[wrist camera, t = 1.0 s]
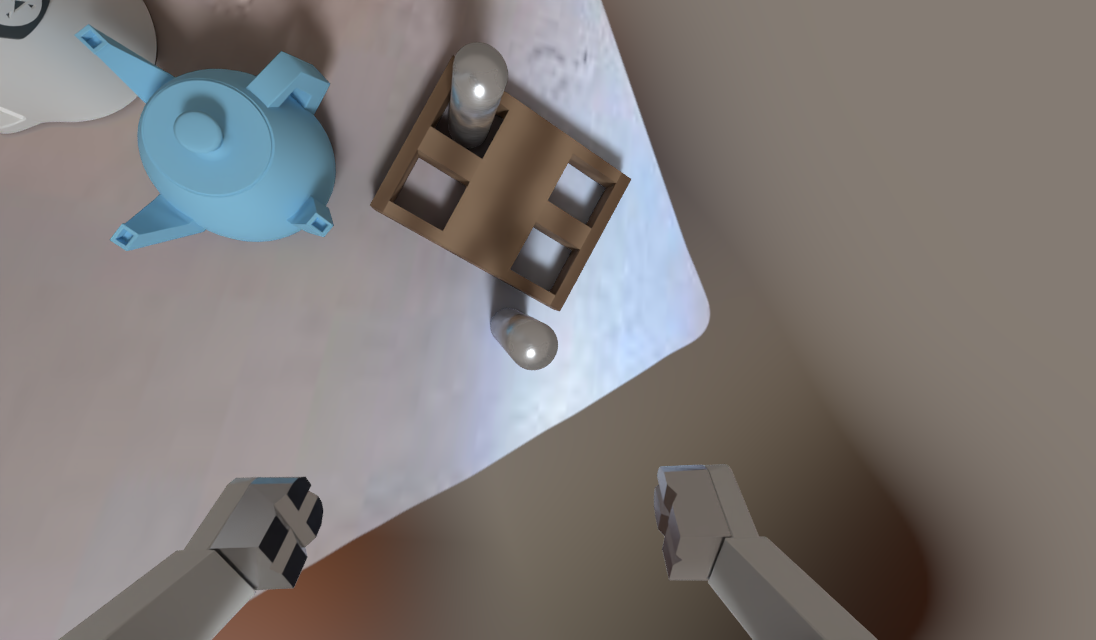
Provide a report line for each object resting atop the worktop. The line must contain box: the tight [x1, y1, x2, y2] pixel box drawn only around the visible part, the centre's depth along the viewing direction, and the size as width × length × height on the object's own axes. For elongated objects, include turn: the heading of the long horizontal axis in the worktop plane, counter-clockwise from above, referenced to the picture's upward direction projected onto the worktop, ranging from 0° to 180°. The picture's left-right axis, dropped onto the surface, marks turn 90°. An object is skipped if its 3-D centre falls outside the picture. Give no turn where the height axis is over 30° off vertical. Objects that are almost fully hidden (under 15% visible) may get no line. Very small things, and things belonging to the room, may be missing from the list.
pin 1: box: [448, 42, 508, 148], centre depth 38 cm, size 4×4×13 cm
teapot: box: [75, 24, 336, 251], centre depth 35 cm, size 15×15×11 cm
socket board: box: [370, 56, 631, 311], centre depth 44 cm, size 21×16×3 cm
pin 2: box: [490, 308, 558, 370], centre depth 41 cm, size 4×4×13 cm
